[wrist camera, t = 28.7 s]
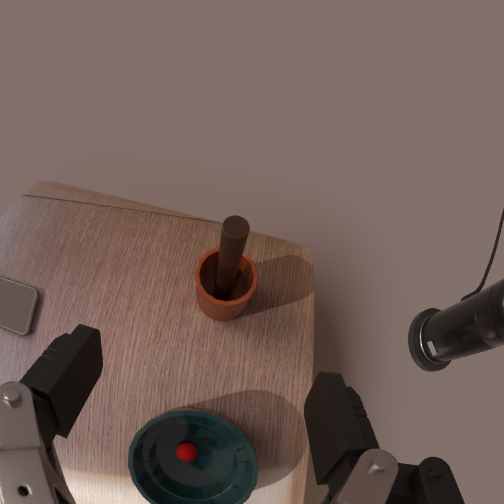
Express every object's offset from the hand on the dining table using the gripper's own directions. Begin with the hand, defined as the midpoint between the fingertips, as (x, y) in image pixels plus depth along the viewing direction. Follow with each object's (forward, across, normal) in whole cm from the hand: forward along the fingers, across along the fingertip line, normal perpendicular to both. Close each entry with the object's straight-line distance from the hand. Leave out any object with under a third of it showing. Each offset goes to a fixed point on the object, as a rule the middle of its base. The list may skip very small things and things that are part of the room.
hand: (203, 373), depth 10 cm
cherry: (+12, +1, +25) cm, 28 cm away
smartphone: (+22, +34, +18) cm, 45 cm away
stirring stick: (+28, 0, +11) cm, 30 cm away
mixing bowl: (+12, 0, +27) cm, 30 cm away
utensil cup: (+28, 0, +12) cm, 31 cm away
